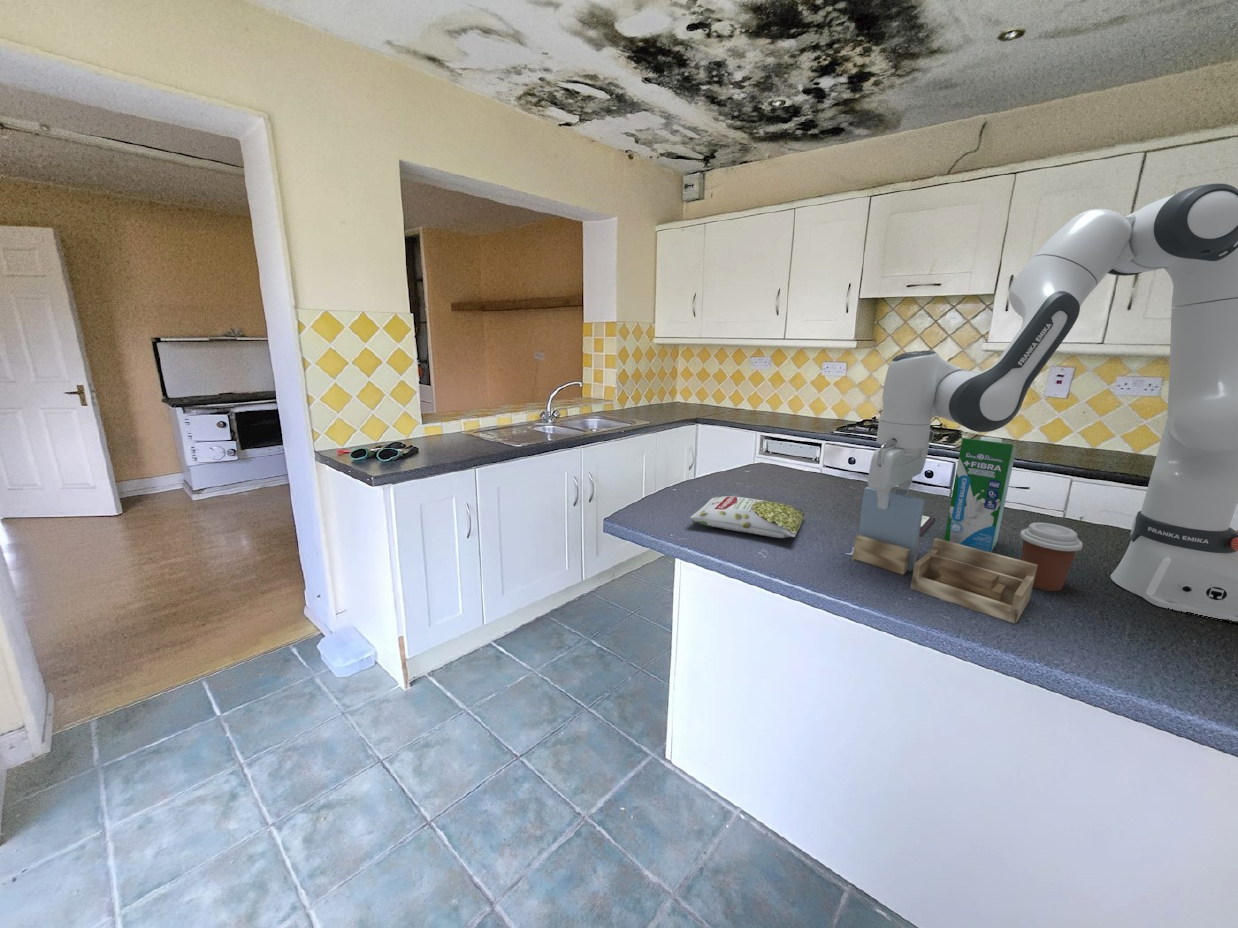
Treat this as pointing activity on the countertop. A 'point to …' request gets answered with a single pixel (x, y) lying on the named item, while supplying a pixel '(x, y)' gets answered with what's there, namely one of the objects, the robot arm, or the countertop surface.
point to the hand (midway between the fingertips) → (892, 502)
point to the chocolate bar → (926, 524)
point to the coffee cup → (1049, 553)
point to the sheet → (893, 521)
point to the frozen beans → (751, 516)
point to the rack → (1009, 569)
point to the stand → (881, 554)
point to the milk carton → (979, 492)
